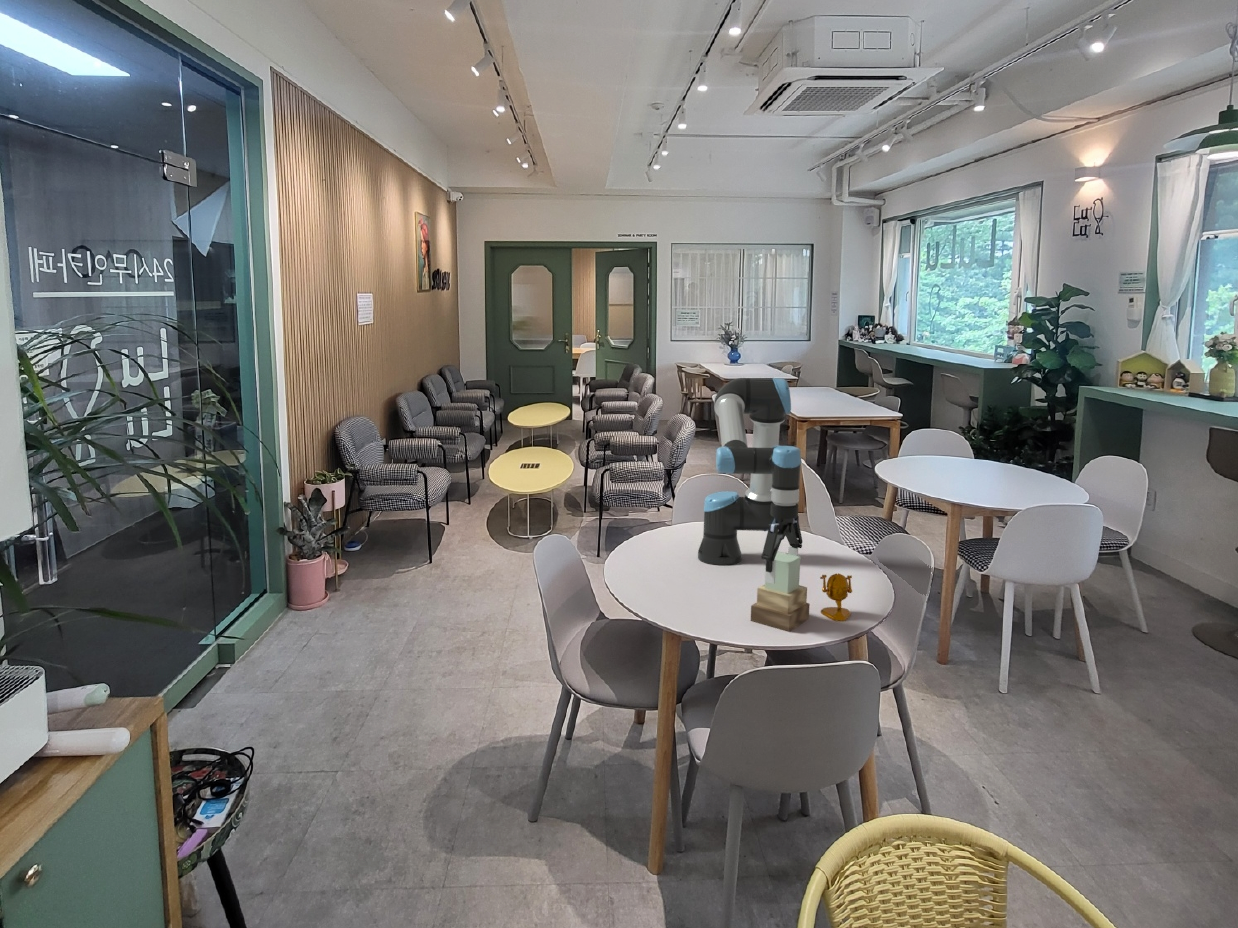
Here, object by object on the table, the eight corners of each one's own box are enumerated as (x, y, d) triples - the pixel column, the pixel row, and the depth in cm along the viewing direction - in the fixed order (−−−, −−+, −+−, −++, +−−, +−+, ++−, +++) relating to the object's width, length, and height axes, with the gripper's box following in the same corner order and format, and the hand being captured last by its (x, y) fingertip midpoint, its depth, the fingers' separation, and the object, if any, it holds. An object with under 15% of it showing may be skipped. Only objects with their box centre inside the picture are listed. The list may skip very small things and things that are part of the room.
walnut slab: (771, 609, 239) (771, 593, 238) (808, 620, 232) (809, 603, 231) (750, 622, 230) (751, 605, 229) (788, 633, 223) (789, 616, 222)
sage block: (776, 581, 234) (778, 551, 232) (798, 587, 230) (800, 556, 228) (764, 588, 229) (766, 557, 227) (787, 594, 224) (788, 563, 222)
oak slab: (775, 595, 237) (776, 579, 236) (806, 604, 231) (807, 587, 230) (756, 604, 230) (757, 587, 229) (787, 613, 223) (788, 596, 222)
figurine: (847, 607, 240) (849, 568, 238) (855, 621, 230) (858, 581, 227) (817, 606, 241) (820, 568, 239) (824, 620, 230) (827, 580, 228)
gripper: (792, 492, 236) (789, 562, 240) (750, 509, 217) (747, 585, 221) (816, 496, 232) (812, 567, 236) (775, 514, 212) (772, 591, 217)
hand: (781, 575), depth 229 cm, fingers open, 13 cm apart
